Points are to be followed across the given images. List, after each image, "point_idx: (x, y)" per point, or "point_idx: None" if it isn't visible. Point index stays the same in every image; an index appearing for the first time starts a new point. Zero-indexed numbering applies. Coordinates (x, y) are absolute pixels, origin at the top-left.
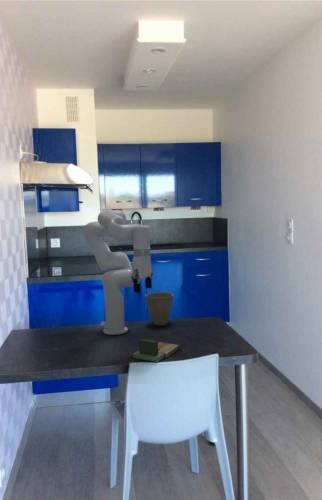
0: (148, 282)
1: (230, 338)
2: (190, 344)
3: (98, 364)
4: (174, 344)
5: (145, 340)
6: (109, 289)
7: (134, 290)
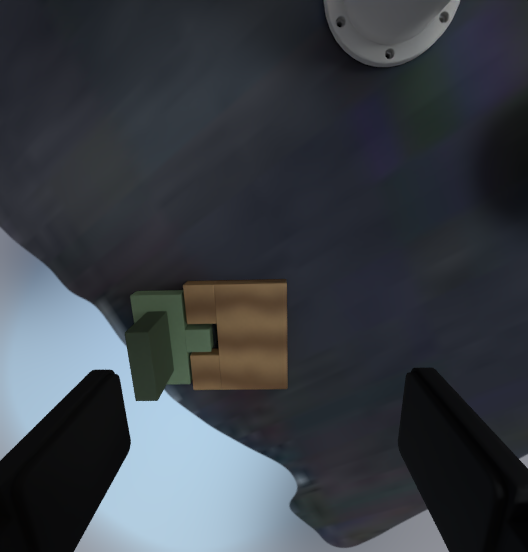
0: (446, 500)
1: None
2: (345, 390)
3: (19, 219)
4: (286, 371)
5: (137, 357)
6: None
7: (85, 389)
